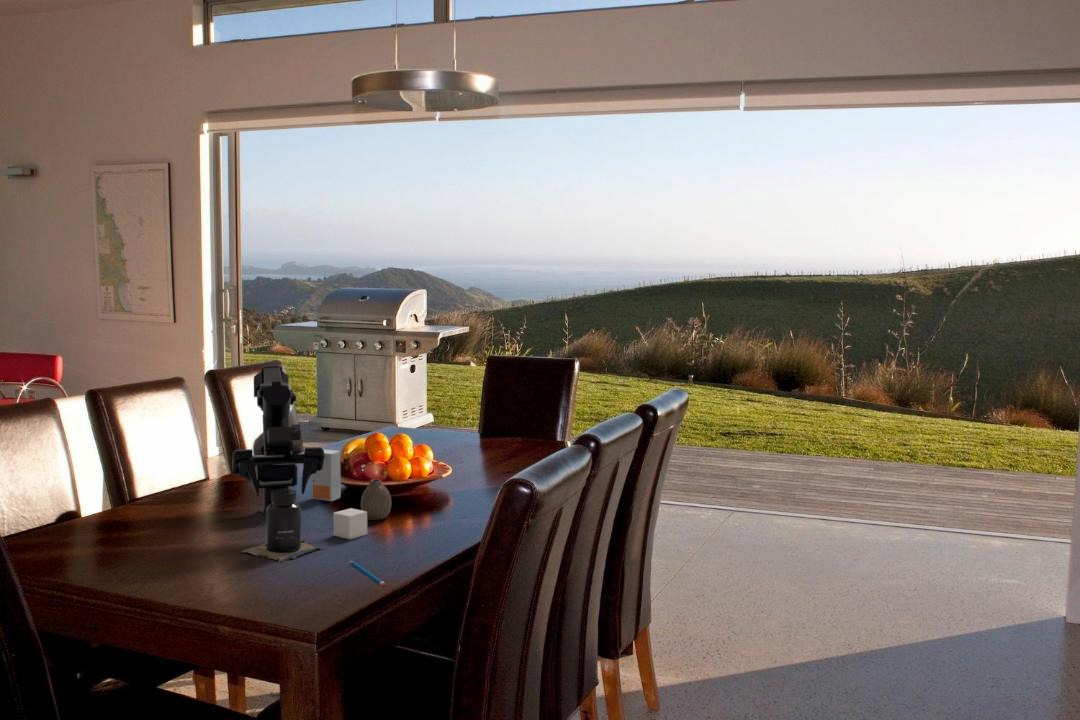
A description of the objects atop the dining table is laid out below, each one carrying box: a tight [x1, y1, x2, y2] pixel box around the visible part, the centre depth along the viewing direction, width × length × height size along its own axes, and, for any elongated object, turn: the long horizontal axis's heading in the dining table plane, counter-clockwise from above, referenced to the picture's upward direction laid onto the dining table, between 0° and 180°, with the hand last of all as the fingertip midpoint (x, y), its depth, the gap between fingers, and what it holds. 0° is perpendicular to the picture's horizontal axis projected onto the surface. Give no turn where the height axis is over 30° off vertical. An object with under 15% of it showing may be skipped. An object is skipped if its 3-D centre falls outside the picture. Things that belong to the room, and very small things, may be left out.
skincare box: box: [310, 449, 341, 502], centre depth 232 cm, size 6×4×12 cm
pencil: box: [349, 560, 388, 587], centre depth 175 cm, size 1×17×1 cm, turn 33°
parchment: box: [239, 540, 323, 563], centre depth 189 cm, size 12×13×1 cm
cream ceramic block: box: [333, 507, 368, 540], centre depth 201 cm, size 5×5×5 cm
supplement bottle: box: [265, 488, 302, 553], centre depth 189 cm, size 7×7×12 cm
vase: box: [360, 478, 392, 521], centre depth 214 cm, size 7×7×9 cm
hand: (280, 494), depth 196 cm, fingers open, 9 cm apart
